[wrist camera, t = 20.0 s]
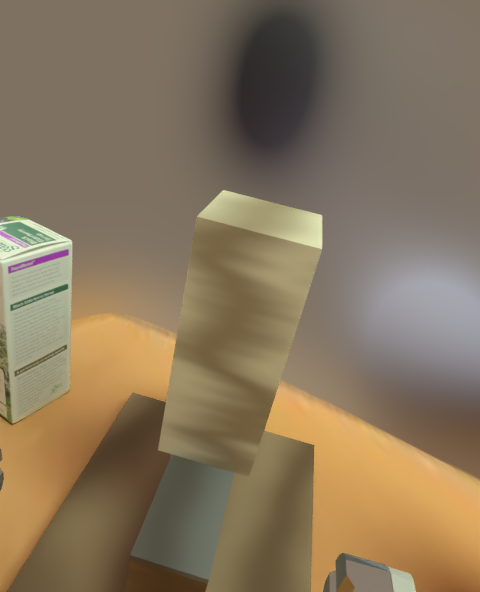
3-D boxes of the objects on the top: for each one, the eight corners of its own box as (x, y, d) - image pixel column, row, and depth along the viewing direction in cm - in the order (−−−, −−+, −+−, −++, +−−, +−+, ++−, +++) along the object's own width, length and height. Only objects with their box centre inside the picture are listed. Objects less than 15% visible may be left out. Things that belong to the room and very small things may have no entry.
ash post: (261, 412, 27) (322, 215, 21) (249, 477, 22) (322, 248, 16) (185, 391, 27) (223, 190, 21) (158, 450, 22) (196, 216, 17)
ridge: (309, 457, 36) (342, 375, 32) (298, 747, 20) (362, 657, 16) (131, 405, 37) (141, 319, 33) (-14, 642, 21) (-29, 532, 17)
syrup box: (72, 390, 37) (78, 237, 31) (10, 429, 32) (0, 256, 26) (29, 361, 39) (25, 212, 33) (-36, 393, 35) (-56, 225, 28)
